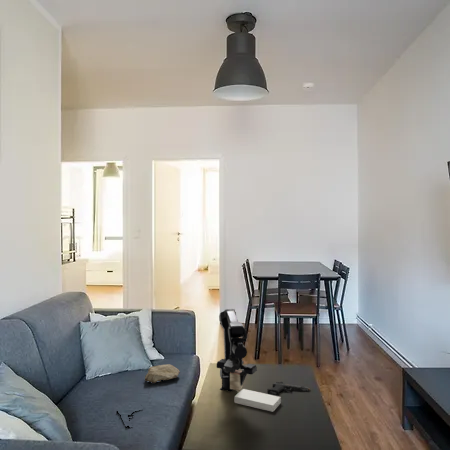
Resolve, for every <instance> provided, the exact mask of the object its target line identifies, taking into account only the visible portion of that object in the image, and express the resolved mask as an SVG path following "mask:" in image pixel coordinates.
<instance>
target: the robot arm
mask: <svg viewBox="0 0 450 450" xmlns="http://www.w3.org/2000/svg"><path fill="white" fill-rule="evenodd" d="M235 310H236V309H235V308H226V309H224V311H221V312H220V313H219V315H218V320H219V323H220V325H221V328H222V329H223V346H224V347H223V351H224V353H223V354H224V358H221V359H220V360H218V361H217V362H216V368H217V369H219V377H220V379H221V387H220V389H219V390H222V391H227V392H231V393H232V392H233V391H235V390H234V389H230V372H231V373H234V372H235V370H239V371H240V370H241V371H242V372H241V373H240V375H241V382H240V383H241V386H242V385H243V384H244V381H245V380H246V377H247V375H253V374H255V372H257V371H258V367H257V365H256V364H252V363H248V364H247V365H244V363H245V362H244V360H243V359H245V358H246V356H247V355H248V350H247V348H246V346H245V345H244V343H245V342H247V339H248V337H247V336H248V335H247V330H246V328H245V326H244V325H243V323H242V322H241V321H240V322H239V320H238V317H237V312H236V311H235ZM243 386H244V385H243Z"/></svg>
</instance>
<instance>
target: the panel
mask: <svg viewBox="0 0 450 450" xmlns="http://www.w3.org/2000/svg"><path fill="white" fill-rule="evenodd" d="M281 398H282V397H281V396H274V395H269V394H267V393H264V392H260V391H255V390H251V389H247V388H242V389H241V390H240V391H238V393H237V394H236V395H234V398H233V399H234V403H235V404H239V405H243V406H248V407H252V408H255V409H258V410H259V409H260V410H263V411H267V412H275V410H276V409H277V408H278V407H279V406H280V405H281V404H282V403H281V402H282V399H281Z"/></svg>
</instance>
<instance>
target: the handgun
mask: <svg viewBox="0 0 450 450" xmlns="http://www.w3.org/2000/svg"><path fill="white" fill-rule="evenodd" d="M283 391H284V392H289V393H290V392H292V391H294V392H295V391H296V392H308V391H311V388H309V387H308V386H302V385H295V384H288V383H284V382H283V381H280V382H278V381H276V382H273V383H272V387H271V388H268V389H267V393H266V394H269V395H274V396H278V397H280V396H279V395H280V392H283Z"/></svg>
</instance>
